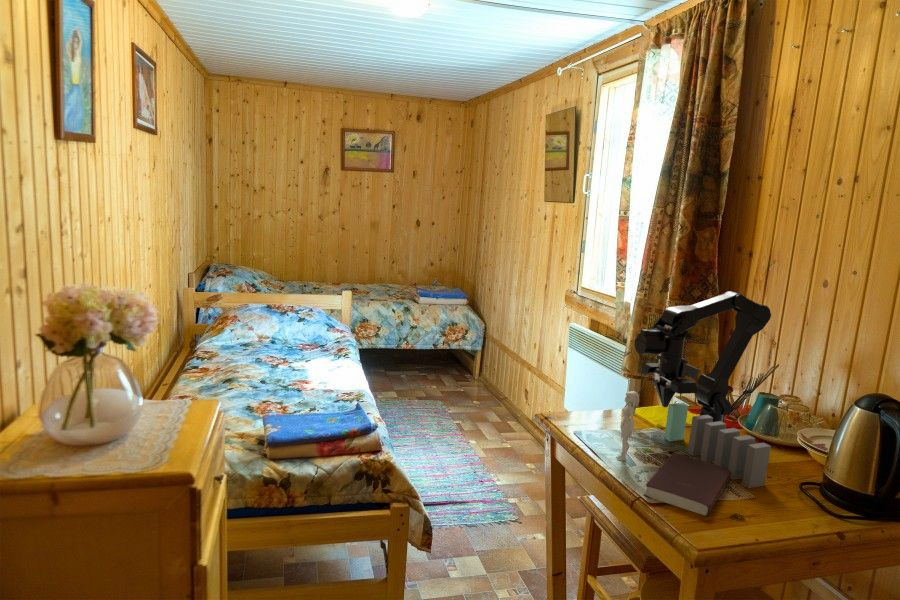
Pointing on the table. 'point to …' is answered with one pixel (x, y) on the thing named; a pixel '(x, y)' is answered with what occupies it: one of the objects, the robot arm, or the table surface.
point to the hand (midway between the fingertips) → (664, 406)
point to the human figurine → (628, 422)
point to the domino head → (676, 422)
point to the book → (688, 483)
